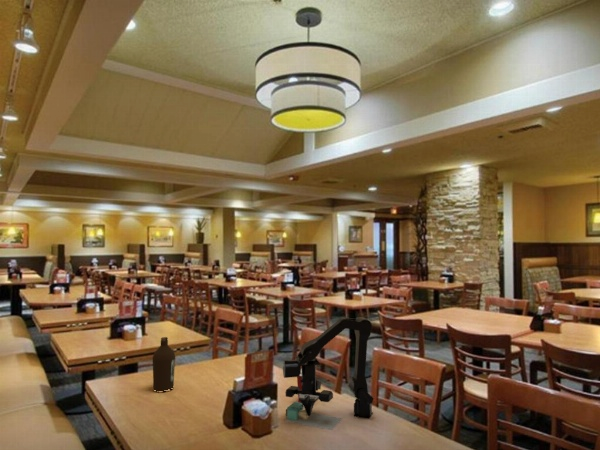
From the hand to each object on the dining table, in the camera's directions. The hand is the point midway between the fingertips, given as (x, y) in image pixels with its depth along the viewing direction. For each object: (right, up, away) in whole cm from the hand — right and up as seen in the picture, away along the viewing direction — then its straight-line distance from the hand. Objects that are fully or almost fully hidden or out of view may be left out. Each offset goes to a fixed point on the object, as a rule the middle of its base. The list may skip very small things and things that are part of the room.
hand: (309, 415), depth 169 cm
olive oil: (-70, -4, +36) cm, 79 cm away
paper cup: (-2, -3, +19) cm, 20 cm away
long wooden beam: (-5, -2, +2) cm, 6 cm away
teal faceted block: (-6, -2, +2) cm, 6 cm away
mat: (+2, -2, -1) cm, 3 cm away
